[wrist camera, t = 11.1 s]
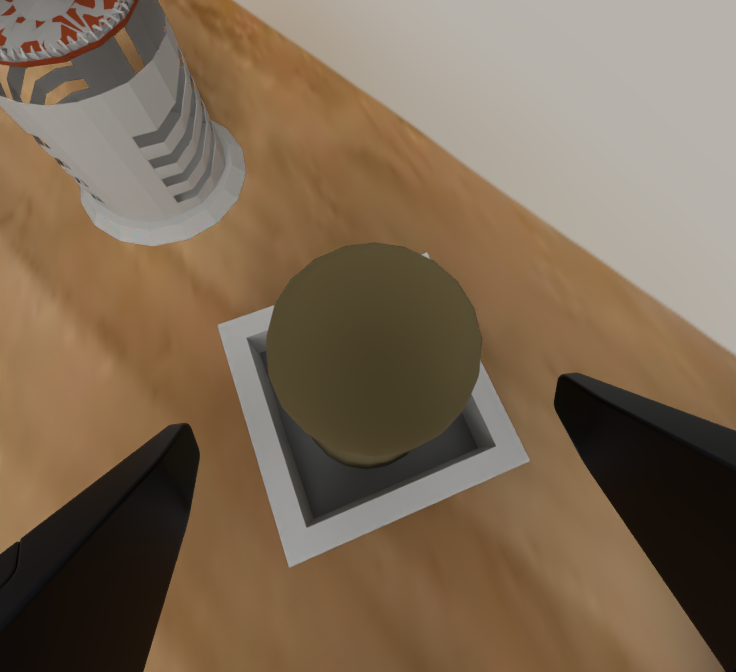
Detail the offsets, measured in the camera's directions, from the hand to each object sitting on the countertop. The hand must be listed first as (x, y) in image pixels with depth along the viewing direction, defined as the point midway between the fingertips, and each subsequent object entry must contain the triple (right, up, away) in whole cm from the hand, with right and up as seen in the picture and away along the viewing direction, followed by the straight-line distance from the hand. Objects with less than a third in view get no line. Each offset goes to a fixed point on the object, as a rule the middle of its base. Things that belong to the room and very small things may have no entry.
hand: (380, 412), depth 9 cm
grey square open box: (0, -1, +10) cm, 10 cm away
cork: (0, -1, +9) cm, 9 cm away
